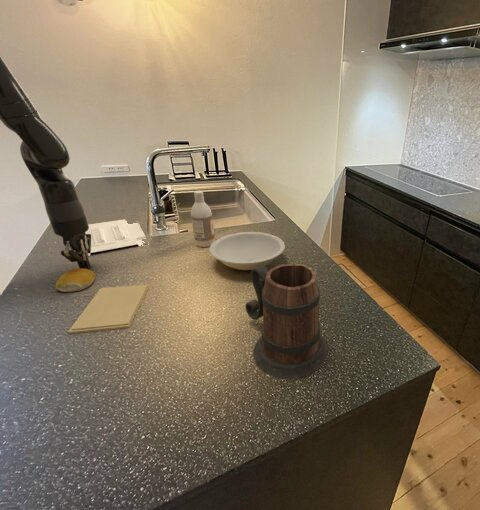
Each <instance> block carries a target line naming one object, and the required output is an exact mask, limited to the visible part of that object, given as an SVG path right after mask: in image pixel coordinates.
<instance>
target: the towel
mask: <svg viewBox="0 0 480 510" xmlns="http://www.w3.org/2000/svg"><path fill="white" fill-rule="evenodd" d="M149 289H150V284H138V285H124V286H123V285H122V286H109V287H101V288H99V290H98V291H97V292H96V293H95V295H94V296H93V298H92V299H91V300H90V302H89V303H88V304H87V305H86V306H85V308H84V310H83V311H82V312H81V313H80V315H79V316H78V318H77V319H76V320H75V322H74V323H73V325H71V327H70V328H69V329H68V331H67V334H68V335H72V334H82V333H93V332H100V331H111V330H112V331H113V330H120V329H121V330H122V329H129V328H130V326H131V325H132V323H133V321H134V319H135V316H136V315H137V313H138V310H139V308H140V307H141V305H142V303H143V302H144V301H143V300H144V298H145V297H146V295H147V293H148V291H149Z"/></svg>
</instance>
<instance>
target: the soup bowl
mask: <svg viewBox="0 0 480 510" xmlns="http://www.w3.org/2000/svg"><path fill="white" fill-rule="evenodd" d="M285 249H286V243H285V242H284V240H283V239H281V238H280V237H278V236H276V235H274V234H271V233H266V232H260V231H242V232H235V233H230V234H227V235H224V236H222V237H219V238H218V239H215V241H214V242H213V243H212V244H211V246H209V254H210V255H211V256H212V257H213V258H214V259H216V260H217V261H220V262H221V263H222V264H223V265H225V266H227V267H229V268H231V269H234V270H239V271H251V270H252V269H253V268H256V267H258V266H260V265H262V266H265V267H266V266H268V265H270V264H272V263H273V262H274V261H275V260H276V259H277V258H278V257H280V255H282V254H283V253H284V251H285Z"/></svg>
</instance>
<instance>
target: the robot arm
mask: <svg viewBox="0 0 480 510" xmlns="http://www.w3.org/2000/svg"><path fill="white" fill-rule="evenodd" d="M0 122H1V123H2V124H3V125H4V126H5V127H6V128H7V129H9V130H10V131H12V132H13V133H15V134H16V136H18V137H19V139H20V140H21V141H22V142H21V143H20V145H19V151H20V155H21V158H22V161H23V162H24V164H25V166H26V169H28V171H29V174H30V175H31V176H32V178H33V179H34V181H35V182H36V184H37V186H38V189H39V192H40V194H41V197H42V200H43V203H44V208H45V212H46V215H47V218H48V220H49V223H50V225H51V228H52V231H53V233H54V235H56V236H59V237H61V238H62V244H63V245H64V246H65V247H64V250H61V251H60V255H61V256H63V257H64V258H65V259H67V260H68V261H69V262H70V263H77V265H78V268H84V269H88V270H91V269H92V265H91V263H90V259H89V257H90V256H89V254H88V253H90V254H91V234H85V232H86V231H88V229H89V226H88V225H89V224H88V223H89V222H88V219H87V216H86V214H85V210H84V207H83V205H82V203H81V201H80V199H79V196H78V193H77V190H76V186H75V183H74V182H73V180H72V179H71V178H70V177H68V176H67V175H66V174H65V172H64V170H63V169H65V168H66V167H67V166H68V165H69V163H70V160H71V159H70V158H71V157H70V153H69V150H68V148H67V146H66V145H65V143H64V142H63V140H62V139H61V138H60V137H59V136H58V134H57V133H56V132H55V131H54V130H53V129H52V128H51V126H50V125H48V123H47V122H46V121H45V120H44V119H43V118H42V116H41V115H40V113H39V111H38V109H37V108H36V107H35V105H34V103H33V102H32V100H31V98H30V97H29V96H28V94H27V92H26V91H25V90H24V88H23V87H22V85H21V83H20V82H19V80H17V78H16V76H15V75H14V74H13V72H12V70H11V69H10V68H9V67H8V65H7V63H6V62H5V60H4V59H3V57H2V56H1V55H0Z"/></svg>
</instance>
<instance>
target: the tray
mask: <svg viewBox="0 0 480 510" xmlns="http://www.w3.org/2000/svg"><path fill="white" fill-rule="evenodd" d="M127 221H128V220H127V219H118V220H112V221H104V222H96V223H89V224H88V226H89V229H88V231H86V232H85V234H91V253H97V252H98V253H99V252H103V251H109V250H114V249H119V248H125V247H129V246H136V245H138V247H143V246H145V245H143V243H145V242H144V241H142V239H147V237H146V235H145V233H144V231H143V229H142V227H141V224H140V222H139V221H137V223H133V224H128V223H127ZM142 242H143V243H142ZM141 245H142V246H141ZM148 245H149V246H150V243H149V244H148ZM148 245H147V246H148ZM91 253H88V254H89V257H90V256H91Z"/></svg>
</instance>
